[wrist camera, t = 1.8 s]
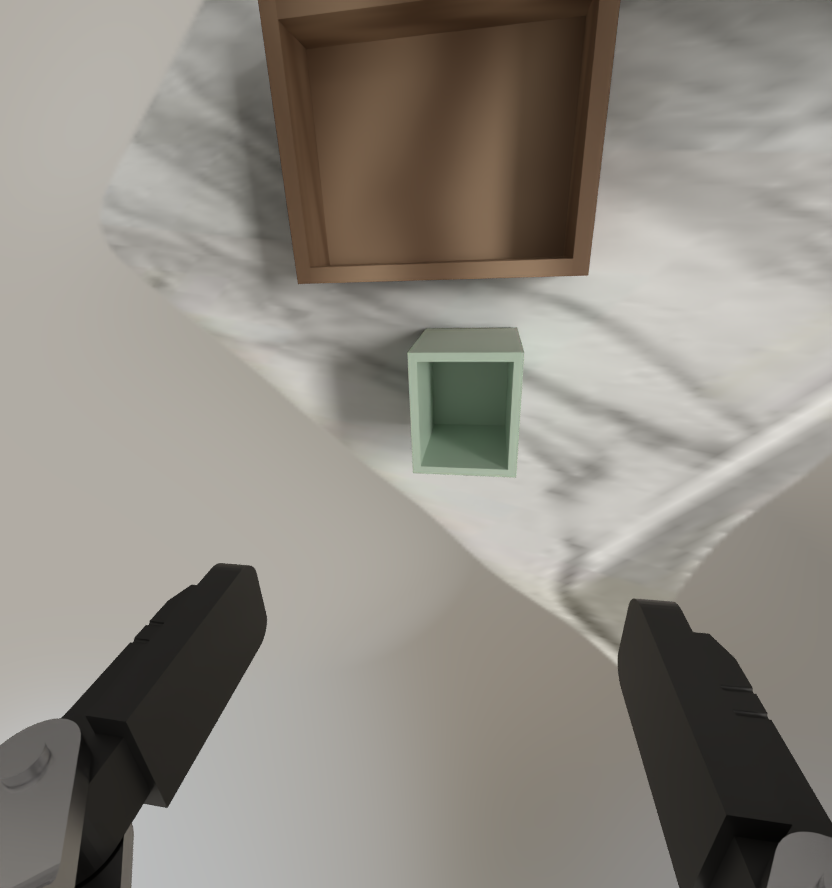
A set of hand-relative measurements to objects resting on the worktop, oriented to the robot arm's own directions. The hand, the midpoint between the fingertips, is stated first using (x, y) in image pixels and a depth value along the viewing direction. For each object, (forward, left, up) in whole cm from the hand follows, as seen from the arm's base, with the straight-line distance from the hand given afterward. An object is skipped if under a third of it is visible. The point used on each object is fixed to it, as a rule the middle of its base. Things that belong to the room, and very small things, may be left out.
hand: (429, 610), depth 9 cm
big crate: (+1, -11, -18) cm, 21 cm away
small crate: (0, 0, -18) cm, 18 cm away
